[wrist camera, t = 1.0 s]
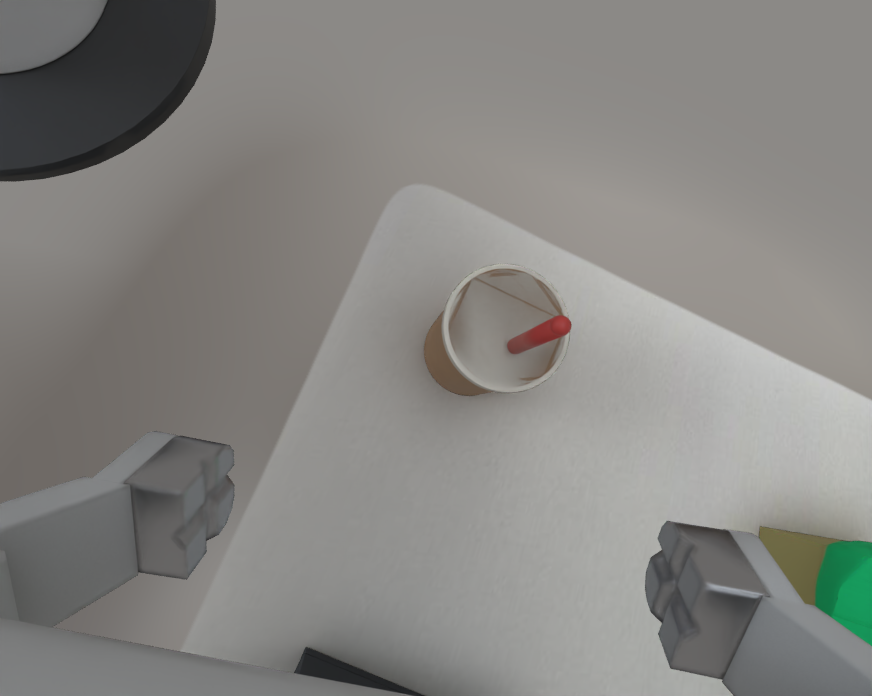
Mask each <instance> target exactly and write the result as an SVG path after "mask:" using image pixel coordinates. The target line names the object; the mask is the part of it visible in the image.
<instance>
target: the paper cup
mask: <svg viewBox="0 0 872 696" xmlns="http://www.w3.org/2000/svg"><path fill="white" fill-rule="evenodd" d="M570 330H571V322H570V320H569V317H568V312H567V309H566V306H565V304H564V302H563V300H562V298H561V296H560V295H559V293H558V292H557V290H556V289H555V288H554V287H553V286H552V284H551V283H549V282H548V281H547V280H546V279H545V278H544V277H542V276H541V275H540V274H538V273H536V272H534V271H533V270H530V269H528V268H526V267H522V266H519V265H513V264H495V265H490V266H486V267H483V268H480V269H478V270H476V271H474V272H473V273H471V274H469V275H468V276H467V277H465V278H464V279H463V280H462V281H461V282H460V283H459V284H458V285H457V286H456V288H455V289H454V291H453V292H452V293H451V295H450V297H449V299H448V301H447V303H446V305H445V308H444V310H443V312H442V313H441V314H440V316H439V317H438V318H437V320H436V321H435V322H434V324H433V325H432V326H431V328H430V330H429V332H428V334H427V337H426V340H425V346H424V355H425V361H426V364H427V367H428V369H429V372H430V373H431V375H432V376H433V378H434V379H435V380H436V381H437V382H438V383H439V384H440V385H441V386H442V387H444V388H445V389H447V390H449V391H450V392H453V393H455V394H459V395H466V396H472V395H479V394H485V393H491V392H498V393H515V392H521V391H525V390H528V389H532V388H534V387H536V386H538V385H540V384H541V383H543V382H544V381H546V380H547V379H548V378H549V377H550V376H552V375H553V373H554V372H555V371H556V370H557V369H558V367H559V366H560V364H561V363H562V361H563V359H564V357H565V355H566V352H567V349H568V345H569V339H570Z"/></svg>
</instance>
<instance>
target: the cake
mask: <svg viewBox="0 0 872 696" xmlns="http://www.w3.org/2000/svg"><path fill="white" fill-rule="evenodd" d="M759 538H760V540H761V541H762V543H763V544H764V546H765V547H766V549H767V550H768V551H769V553H770V554H771V556H772V557H773V559H774V560H775V561H776V563H777V564H778V566H779V567H780V569H781V570H782V571H783V573H784V574H785V576H786V577H787V579H788V580H789V582H790V583H791V584H792V586H793V587H794V589H795V590H796V592H797V593H798V594H799V596H800V597H801V599H802V600H803V602H804V603H805V604H809V605H814V606H816V607H817V608H819V609H820V610H821V611H823V612H824V613H826V614H827V615H829V616H830V617H831V618H833V619H834V620H836V621H837V622H838V623H840V624H841V625H843V626H844V627H845V628H847V629H848V630H850V631H851V632H852V633H854V634H855V635H857V636H858V637H859V638H861V639H862V640H864V641H865V642H867V643H868V644H869V645H871V646H872V543H871V542H864V541H852V542H848V541H843V540H837V539H831V538H825V537H819V536H813V535H807V534H801V533H796V532H790V531H784V530H778V529H772V528H766V527H760V534H759Z"/></svg>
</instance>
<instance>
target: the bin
mask: <svg viewBox="0 0 872 696" xmlns="http://www.w3.org/2000/svg"><path fill="white" fill-rule="evenodd" d="M294 673H296V674H301V675H306V676H312V677H317V678H322V679H328V680H333V681H338V682H344V683H349V684H354V685H359V686H365V687H370V688H375V689H381V690H386V691H391V692H397V693H402V694H407V695H412V696H424V695H421V694H419V693H416V692H414V691H412V690H409V689H407V688H404V687H402V686H399V685H397V684H395V683H392V682H390V681H387V680H385V679H382V678H380V677H378V676H375V675H373V674H370V673H368V672H365V671H363V670H361V669H358V668H356V667H353V666H351V665H348V664H346V663H344V662H341V661H339V660H336V659H334V658H331V657H329V656H327V655H324V654H322V653H319V652H317V651H315V650H312V649H310V648H307V647H306V648H305V650H304V652H303V654H302V657H301V659H300V661H299V663H298V666H297V668H296V670H295V672H294Z"/></svg>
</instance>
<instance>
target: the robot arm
mask: <svg viewBox="0 0 872 696" xmlns="http://www.w3.org/2000/svg"><path fill="white" fill-rule="evenodd" d="M107 1H108V0H0V74H7V73H15V72H21V71H26V70H30V69H33V68H37V67H40V66H43V65H45V64H47V63H50V62H52V61H54V60H56V59H58V58H60V57H62V56H63V55H65V54H66V53H68V52H69V51H71V50H72V49H73V48H75V47H76V46H77V45H78V44H80V43H81V42H82V41H83V40H84V39H85V38H86V37H87V36H88V35H89V33H90V32H91V31H92V30H93V28H94V27H95V25H96V24H97V22H98V21H99V19H100V17H101V15H102V13H103V11H104V9H105V6H106V3H107ZM233 466H234V450H233V449H232V448H231V446H230V445H226V444H221V443H216V442H211V441H206V440H201V439H195V438H190V437H185V436H178V435H174V434H169V433H163V432H157V431H154V432H148V433H147V434H145V435H144V436H143V437H142V438H140V439H139V440H138V441H137V442H135V444H133V445H132V446H131V447H130V448H128V449H127V450H126V451H125V452H123V453H122V454H121V455H120V456H118V457H117V458H116V459H115V460H113V461H112V462H111V463H110V464H109V465H107V466H106V467H105V468H104V469H103V470H101V471H100V472H99V473H98V474H96V475H95V476H94V477H93V478H89V477H81V478H78V479H75V480H71V481H68V482H65V483H62V484H59V485H56V486H53V487H50V488H47V489H44V490H40V491H37V492H34V493H31V494H28V495H25V496H21V497H18V498H15V499H12V500H9V501H6V502H3V503H0V696H412V695H407V694H402V693H397V692H391V691H386V690H381V689H375V688H370V687H365V686H359V685H354V684H349V683H344V682H338V681H333V680H328V679H322V678H317V677H312V676H306V675H301V674H296V673H290V672H285V671H280V670H275V669H269V668H264V667H259V666H254V665H248V664H243V663H238V662H232V661H227V660H222V659H217V658H211V657H206V656H201V655H195V654H190V653H185V652H180V651H174V650H169V649H164V648H158V647H153V646H147V645H142V644H137V643H132V642H127V641H121V640H116V639H111V638H105V637H100V636H95V635H89V634H84V633H79V632H74V631H69V630H63V629H58V628H53V626H55V625H57V624H58V623H60V622H62V621H63V620H65V619H67V618H68V617H70V616H71V615H73V614H75V613H76V612H78V611H79V610H81V609H83V608H85V607H86V606H88V605H90V604H91V603H93V602H94V601H96V600H98V599H99V598H101V597H103V596H104V595H106V594H108V593H109V592H111V591H113V590H114V589H116V588H117V587H119V586H121V585H123V584H124V583H126V582H127V581H129V580H131V579H132V578H134V577H136V576H137V575H138V572H140V573H147V574H153V575H160V576H166V577H173V578H180V579H188V577H189V576H190V574H191V573H192V571H193V570H194V569H195V567H196V566H197V565H198V563H199V562H200V560H201V559H202V558H203V556H204V555H205V553H206V551H207V550H206V541H207V540H209V539H211V538H213V537H215V536H217V535H219V533H220V532H221V530H222V529H223V528H224V526H225V525H226V523H227V520H228V518H229V515H230V513H231V510H232V506H233V501H234V484H233V482H232V481H231V479H230V478H229V476H228V475H227V474H228V472H229V471H230V470H231V469H232V467H233ZM658 541H659V543H660V545H661V548H662V550H661V551H660V552H658V553H657V554H655V555H654V556H652V557H651V558H650V561H649V564H648V567H647V571H646V580H645V591H646V598H647V602H648V605H649V608H650V611H651V613H652V614H653V615H654V616H655V617H656V618H657V619H658V620H659V621H660V622H661V623H662V625H661V628H660V630H659V633H658V635H659V637H660V640H661V643H662V646H663V649H664V652H665V654H666V657H667V660H668V663H669V666H670V668H671V669H675V670H680V671H685V672H690V673H694V674H699V675H704V676H708V677H713V678H718V679H723V681H722V683H723V684H724V685H725V686H726V687H727V688H728V689H729V691H730V692H731V693H732V694H733V695H734V696H872V646H871V645H869V644H868V643H867V642H865V641H864V640H862V639H861V638H859V637H858V636H857V635H855V634H854V633H852V632H851V631H850V630H848V629H847V628H845V627H844V626H843V625H841V624H840V623H838V622H837V621H836V620H834V619H833V618H831V617H830V616H829V615H827V614H826V613H824V612H823V611H821V610H820V609H819V608H817V607H816V606H814V605H809V604H805V603H804V602H803V600H802V599H801V597H800V596H799V594H798V593H797V592H796V590H795V589H794V587H793V586H792V584H791V583H790V582H789V580H788V579H787V577H786V576H785V574H784V573H783V571H782V570H781V569H780V567H779V566H778V564H777V563H776V561H775V560H774V559H773V557H772V556H771V554H770V553H769V551H768V550H767V549H766V547H765V546H764V544H763V543H762V541H761V540H760V538H758V537H757V536H755V535H754V534H752V533H747V532H740V531H733V530H726V529H723V530H721V529H715V528H709V527H702V526H696V525H690V524H684V523H677V522H671V521H666V523H665V524H664V525H663V526H662V528H661V531H660V533H659V536H658Z"/></svg>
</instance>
